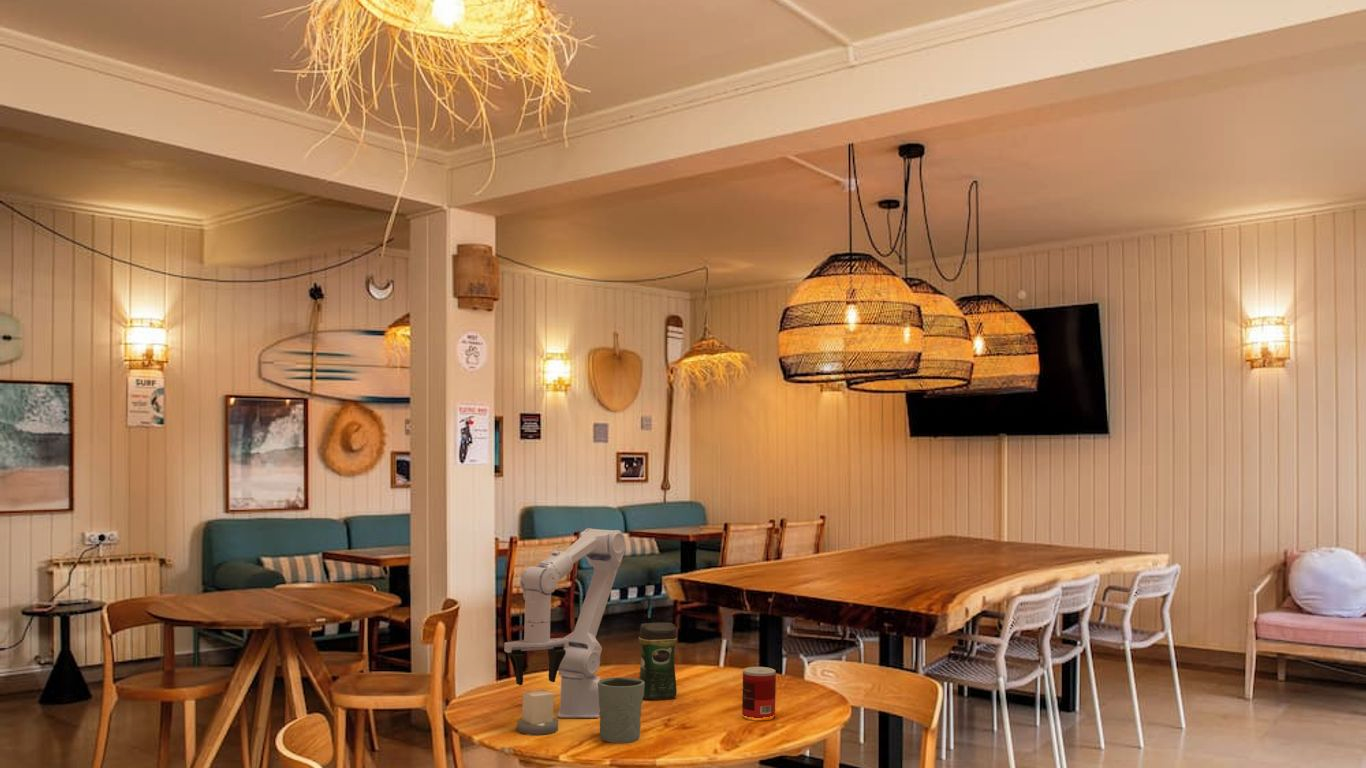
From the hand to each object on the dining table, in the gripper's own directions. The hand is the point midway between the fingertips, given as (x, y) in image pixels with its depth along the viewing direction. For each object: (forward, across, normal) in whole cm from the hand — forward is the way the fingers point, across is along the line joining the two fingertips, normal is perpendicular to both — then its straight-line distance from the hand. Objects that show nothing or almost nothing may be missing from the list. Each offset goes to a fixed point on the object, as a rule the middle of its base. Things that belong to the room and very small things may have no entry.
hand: (535, 682), depth 237 cm
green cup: (+10, -14, +15) cm, 23 cm away
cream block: (+8, 0, +2) cm, 8 cm away
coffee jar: (+10, -39, -16) cm, 43 cm away
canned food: (+10, -51, +12) cm, 54 cm away
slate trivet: (+10, 0, +2) cm, 10 cm away
